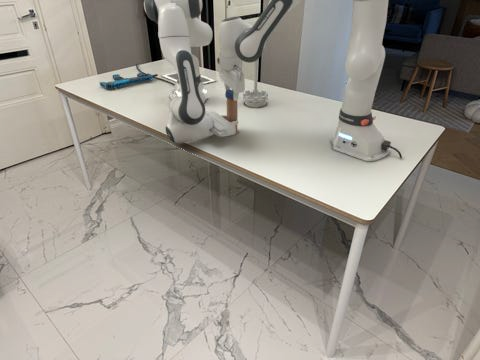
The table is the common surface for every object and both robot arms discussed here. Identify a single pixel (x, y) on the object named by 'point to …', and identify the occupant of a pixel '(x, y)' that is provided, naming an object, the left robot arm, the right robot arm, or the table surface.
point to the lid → (229, 94)
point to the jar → (232, 111)
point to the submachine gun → (126, 80)
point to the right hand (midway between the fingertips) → (231, 96)
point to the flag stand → (255, 93)
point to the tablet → (174, 75)
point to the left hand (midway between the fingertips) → (233, 119)
